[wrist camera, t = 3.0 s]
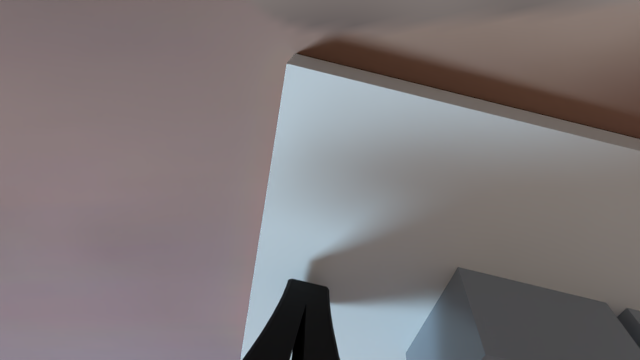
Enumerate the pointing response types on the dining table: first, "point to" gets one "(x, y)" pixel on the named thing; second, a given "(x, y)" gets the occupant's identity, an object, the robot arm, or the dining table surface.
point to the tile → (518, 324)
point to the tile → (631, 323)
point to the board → (434, 204)
